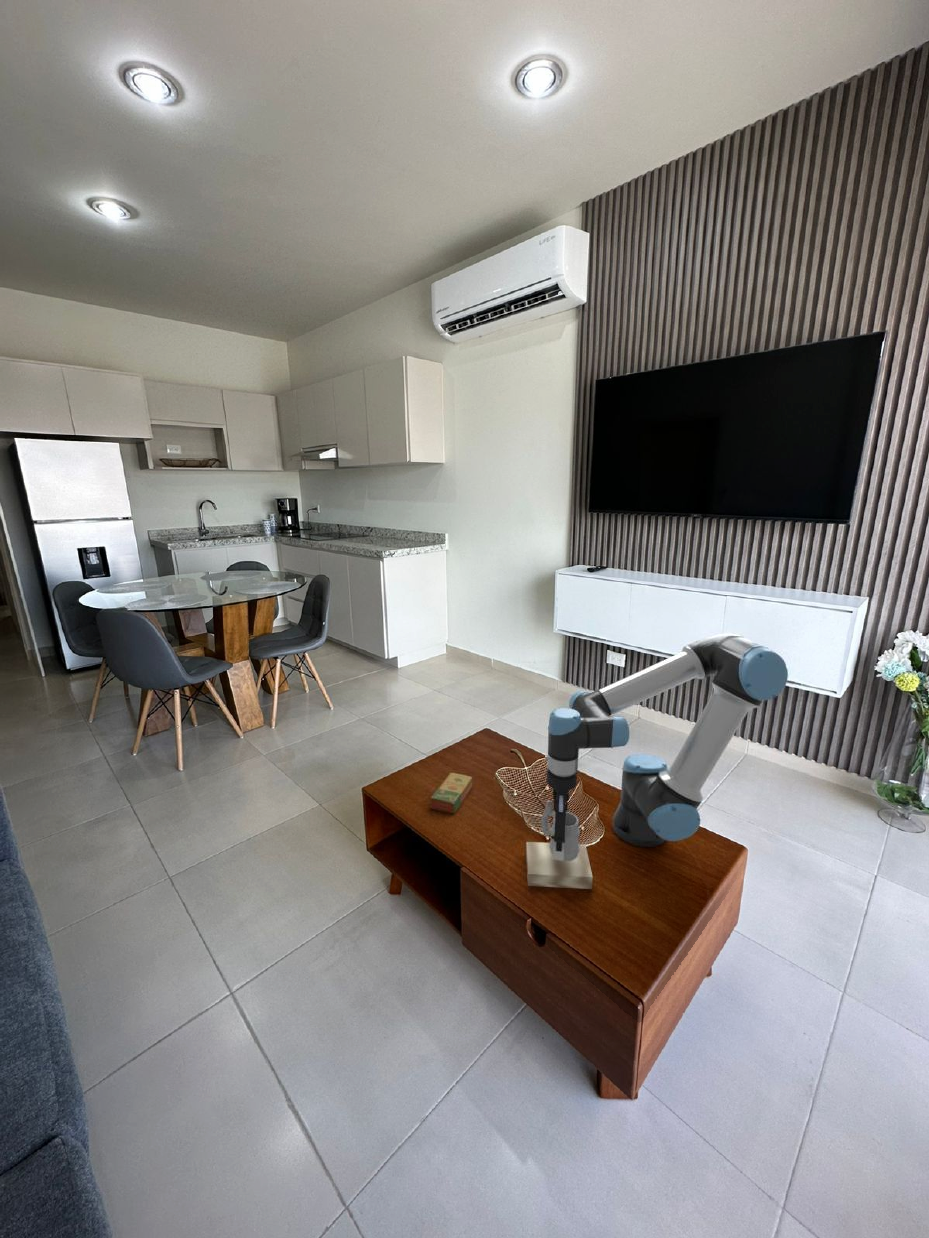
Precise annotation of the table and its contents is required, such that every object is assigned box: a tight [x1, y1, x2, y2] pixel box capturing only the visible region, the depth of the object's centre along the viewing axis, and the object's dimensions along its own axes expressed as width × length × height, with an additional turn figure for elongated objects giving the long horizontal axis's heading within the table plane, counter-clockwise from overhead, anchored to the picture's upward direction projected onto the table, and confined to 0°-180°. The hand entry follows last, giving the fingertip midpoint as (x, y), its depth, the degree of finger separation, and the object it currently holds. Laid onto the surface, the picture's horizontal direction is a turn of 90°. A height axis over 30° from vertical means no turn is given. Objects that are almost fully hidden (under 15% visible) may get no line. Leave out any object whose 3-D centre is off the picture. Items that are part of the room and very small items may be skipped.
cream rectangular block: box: [525, 841, 593, 890], centre depth 134 cm, size 16×12×4 cm
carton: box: [430, 772, 473, 815], centre depth 166 cm, size 8×16×4 cm, turn 158°
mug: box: [540, 799, 581, 861], centre depth 132 cm, size 8×12×12 cm, turn 39°
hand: (558, 846), depth 133 cm, fingers closed on mug, 8 cm apart
